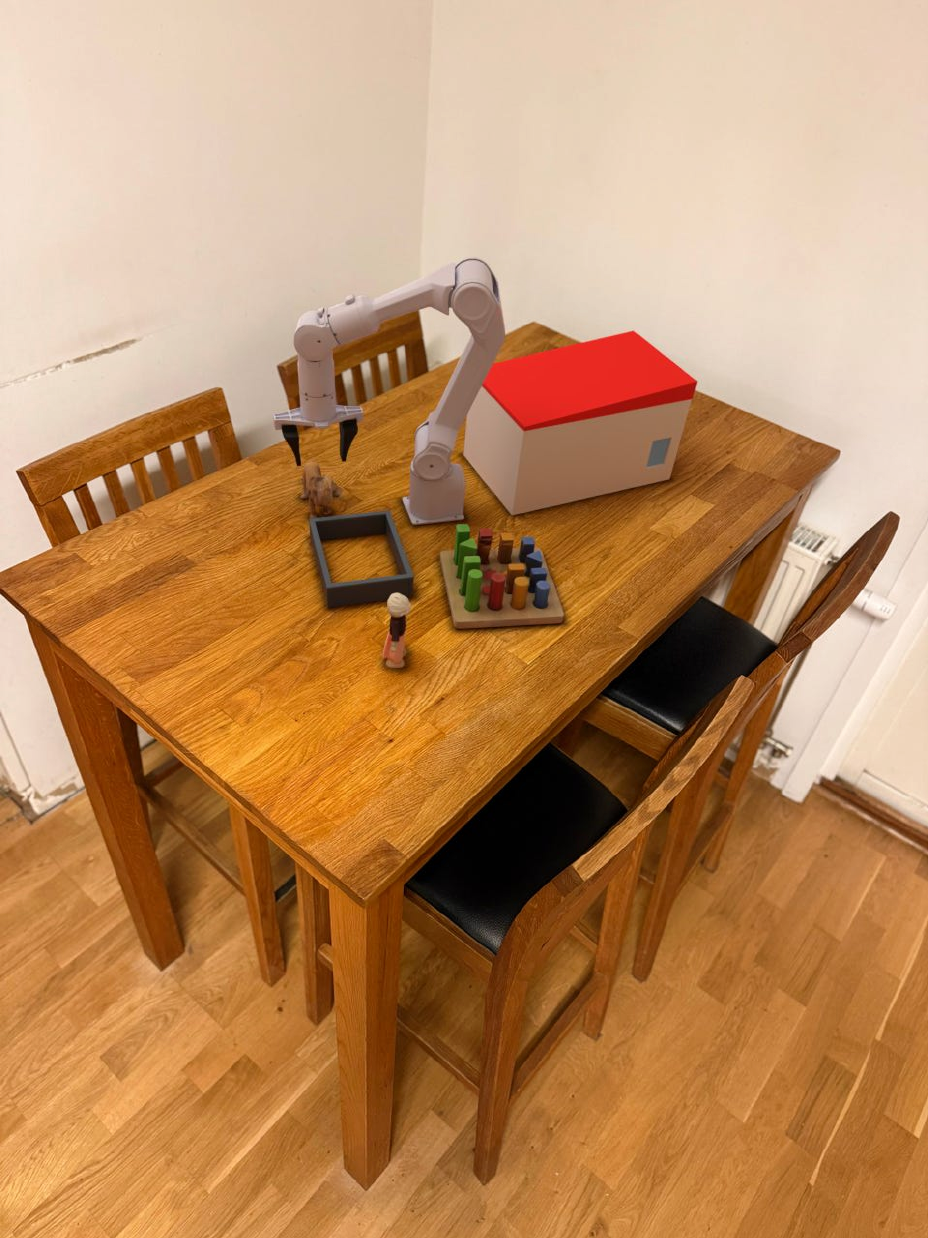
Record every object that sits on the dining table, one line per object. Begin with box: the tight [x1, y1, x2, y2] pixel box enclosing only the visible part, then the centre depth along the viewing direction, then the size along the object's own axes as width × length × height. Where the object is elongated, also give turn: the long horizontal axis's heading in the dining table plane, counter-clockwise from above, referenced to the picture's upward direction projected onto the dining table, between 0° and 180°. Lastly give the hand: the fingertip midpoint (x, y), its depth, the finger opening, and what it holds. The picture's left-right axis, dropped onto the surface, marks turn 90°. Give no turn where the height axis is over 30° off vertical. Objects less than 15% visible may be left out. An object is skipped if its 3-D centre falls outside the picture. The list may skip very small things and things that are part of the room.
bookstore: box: [462, 330, 699, 516], centre depth 165 cm, size 21×35×21 cm, turn 116°
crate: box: [308, 509, 415, 609], centre depth 144 cm, size 14×18×4 cm
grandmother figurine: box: [382, 593, 412, 669], centre depth 127 cm, size 8×4×13 cm, turn 5°
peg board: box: [439, 523, 565, 630], centre depth 141 cm, size 18×17×9 cm
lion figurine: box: [300, 460, 344, 519], centre depth 154 cm, size 15×5×9 cm, turn 29°
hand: (320, 460), depth 151 cm, fingers open, 7 cm apart
